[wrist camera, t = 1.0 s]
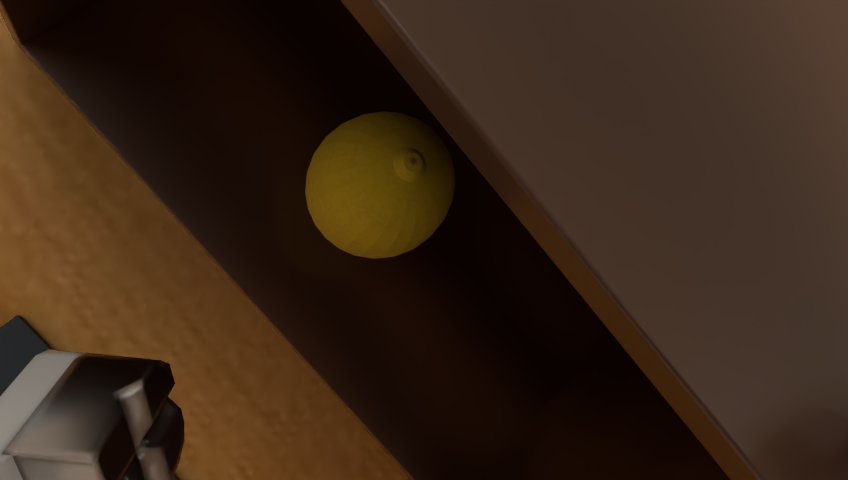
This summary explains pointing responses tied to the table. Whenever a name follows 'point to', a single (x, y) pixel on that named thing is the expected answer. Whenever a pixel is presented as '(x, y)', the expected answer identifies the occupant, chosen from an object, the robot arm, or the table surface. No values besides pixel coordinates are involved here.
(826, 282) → the cupboard
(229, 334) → the table surface
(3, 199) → the table surface
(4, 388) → the mat
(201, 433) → the table surface
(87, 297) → the table surface
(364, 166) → the lemon
